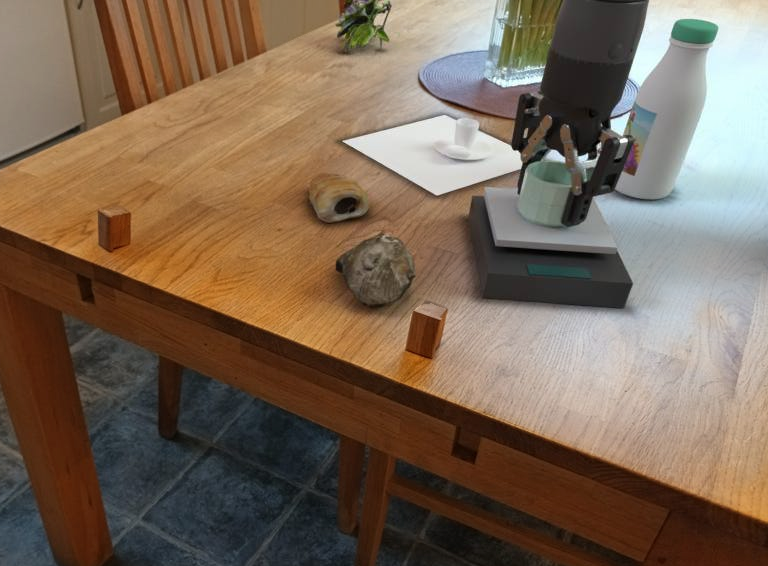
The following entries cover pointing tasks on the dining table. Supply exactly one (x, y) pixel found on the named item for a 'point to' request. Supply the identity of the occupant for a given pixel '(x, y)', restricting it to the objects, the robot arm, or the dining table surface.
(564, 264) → the scale
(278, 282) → the dining table surface
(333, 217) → the pastry
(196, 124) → the dining table surface
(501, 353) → the dining table surface
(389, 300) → the fossilized seashell
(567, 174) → the cup
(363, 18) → the passion flower
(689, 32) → the milk bottle
